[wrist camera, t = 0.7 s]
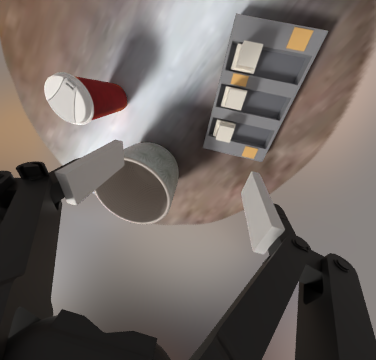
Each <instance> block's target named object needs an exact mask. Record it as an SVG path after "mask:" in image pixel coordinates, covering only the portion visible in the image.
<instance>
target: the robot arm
mask: <svg viewBox="0 0 376 360" xmlns="http://www.w3.org/2000/svg"><path fill="white" fill-rule="evenodd" d="M124 165H125V164H124V153H123V142H122V141H118V140H114V141H112V142H110V143H108V144H106V145H104V146H103V147H101V148H99V149H97V150H95V151H93V152H91V153H89V154H87V155H86V156H84V157H82V158H78V159H75V160H73V161H71V162H69V163H67V164H65V165H64V166H61V167H59V168H57V169H55V170H54V171H51V172H50V173H48V171H47V168H46V166H45V164H44V163H42V162H27V163H24V164H21V165H19V166H17V167H16V170H17V171H18V173H19V175H20V177H21V178H14V177H13V175H12V174H11V172H9V171H0V360H171V359H170V358H169V356H168V355H167V353H166V352H165V351H164V350H163V348H162V347H161V346H159V345H158V344H157V343H156V342H157V338H154V337H151V336H148V335H145V334H141V333H138V332H135V331H127V332H115V333H104V332H102V331H101V330H100V329H99V328H98V327H97V326H95V325H94V324H93V323H92V322H91V321H90V320H89V319H87V318H86V317H85V316H82V315H79V314H76V313H73V312H70V311H66V310H63V309H62V310H61V311H60V313H59V314H58V315H57V316H53V308H52V304H51V291H52V283H53V275H54V267H55V258H56V250H57V242H58V233H59V225H60V217H61V208H62V202H61V199H63V198H64V197H65V198H66V201H67V203H69V204H73V205H78V204H79V203H81V201H83V200H84V199H85V198H86V197H88V196H89V195H90V194H91V193H92V192H93V191H95V190H96V189H97V188H98V187H99V186H101V185H102V184H103V183H104V182H105V181H106V180H108V179H109V178H110V177H111V176H112V175H114V174H115V173H116V172H117V171H118V170H119V169H121V168H122V167H123V166H124ZM241 196H242V201H243V206H244V211H245V215H246V220H247V226H248V231H249V235H250V241H251V245H252V250H253V252H256V253H260V254H265V252H266V251H267V250H268V251H269V255H270V256H269V257H268V258H267V259H266V260H265V261H264V262H263V264H262V266H261V267H260V268H259V270H258V271H257V272H256V274H255V275H254V276H253V278H252V279H251V280H250V282H249V283H248V284H247V285H246V287H245V288H244V290H243V291H242V292H241V293H240V294H239V296H238V297H237V298H236V300H235V301H234V303H233V304H232V305H231V306H230V308H229V309H228V310H227V312H226V313H225V314H224V316H223V317H222V318H221V319H220V321H219V322H218V323H217V325H216V326H215V327H214V329H213V330H212V331H211V333H210V334H209V335H208V336H207V338H206V339H205V340H204V342H203V343H202V344H201V346H200V347H199V348H198V349H197V350H196V351H195V353H194V354H193V355H192V356H191V358H190V359H189V360H262V358H263V356H264V354H265V351H266V349H267V347H268V345H269V343H270V341H271V339H272V336H273V334H274V332H275V330H276V328H277V326H278V324H279V321H280V319H281V317H282V315H283V313H284V311H285V309H286V306H287V304H288V302H289V300H290V298H291V296H292V294H293V291H294V289H295V287H296V285H297V283H298V281H299V295H298V314H297V333H296V351H295V360H376V339H375V335H374V332H373V328H372V325H371V322H370V318H369V314H368V310H367V307H366V303H365V300H364V296H363V293H362V289H361V286H360V282H359V279H358V275H357V273H356V271H355V269H354V268H353V267H352V265H351V264H350V263H349V262H347V261H346V260H345V259H343V258H342V257H340V256H338V255H336V254H331V253H330V254H328V255H327V256H325V257H324V256H322V255H320V254H318V253H316V252H314V251H312V250H311V248H310V246H309V245H308V244H307V242H305V241H304V240H303V239H302V238H300V237H298V236H296V234H295V232H294V230H293V228H292V226H291V224H290V223H289V221H288V219H287V217H286V215H285V213H284V211H283V209H282V208H281V207H280V206H279V205H277V204H273V202H272V200H271V197H270V195H269V193H268V191H267V189H266V187H265V184H264V182H263V180H262V178H261V176H260V173H257V172H252V171H251V173H250V175H249V177H248V180H247V182H246V184H245V186H244V188H243V190H242V192H241ZM155 346H156V347H155Z"/></svg>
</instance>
